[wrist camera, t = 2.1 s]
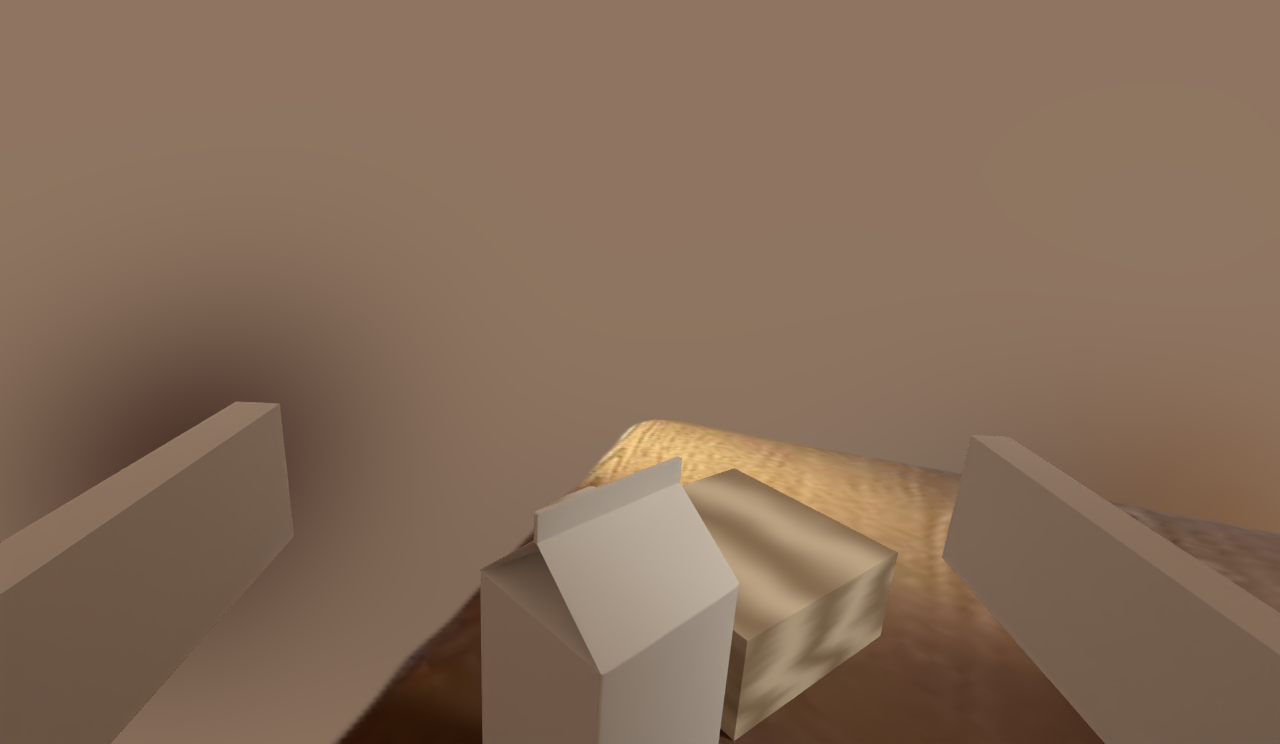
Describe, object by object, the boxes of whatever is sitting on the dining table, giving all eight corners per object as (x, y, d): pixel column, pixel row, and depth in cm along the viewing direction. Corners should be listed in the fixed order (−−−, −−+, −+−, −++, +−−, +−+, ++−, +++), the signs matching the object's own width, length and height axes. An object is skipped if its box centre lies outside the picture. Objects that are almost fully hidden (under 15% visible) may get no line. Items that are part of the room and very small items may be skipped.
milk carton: (704, 866, 29) (752, 490, 23) (584, 999, 24) (608, 562, 18) (600, 762, 33) (620, 429, 28) (482, 854, 28) (477, 473, 23)
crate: (725, 540, 55) (734, 468, 53) (879, 639, 44) (897, 552, 42) (583, 601, 46) (587, 516, 44) (733, 744, 35) (747, 641, 33)
